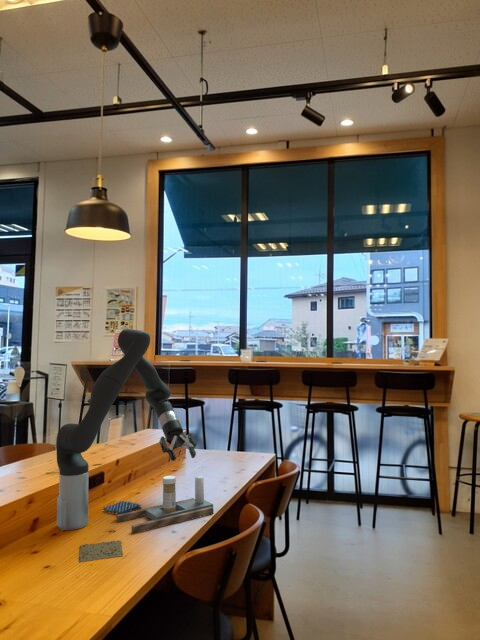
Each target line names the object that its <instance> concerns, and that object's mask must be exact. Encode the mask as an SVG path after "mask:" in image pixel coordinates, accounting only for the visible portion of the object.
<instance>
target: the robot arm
mask: <svg viewBox="0 0 480 640" xmlns="http://www.w3.org/2000/svg"><path fill="white" fill-rule="evenodd" d="M150 344H151V336H150V333H148V332H147V331H145V330H142V329H141V330H139V329H133V328H125V329H122V330H121V331H120V332H119V334H118V336H117V345H118V347H119V349H120V351H121V352H122V353H123V356H122V357H121V358H120V359H119V360H118V361H116V362H115V363H113V364H111V365H110V366H108V367H107V368H105V370H103V371H102V372H101V373H100V375H99V376H98V378H97V379H96V381H95V383H93V386H92V387H91V391H90V400H89V406H88V410H87V411H86V413H85V415H84V417H83V418H82V420H81V421H80V422H79V423H69V422H68V423H66V424H64V425H62V426H61V427H60V428H59V429H58V432H57V435H56V446H55V447H56V450H55V451H56V464H57V467H58V471H59V473H58V474H59V475H58V476H59V480H58V483H59V484H58V487H59V488H58V493H59V494H58V495H57V497H56V498H57V499H56V527H58V528H59V529H60V530H61V531H72V530H73V531H74V530H77V529H81V528H84V527H86V526H87V525H89V475H90V474H89V472H90V471H89V468H90V467H89V463H88V461H87V460H85V459H84V457H83V456H82V453H85V452H87V451H88V450H89V449H90V448H91V446H93V444H94V443H95V439H96V438H97V436H98V433H99V431H100V429H101V426H102V425H103V422H104V421H105V418H106V417H107V414H108V413H109V412H110V409H111V407H112V406H113V404H114V402H115V401H116V399H117V398H118V396H119V395H120V393H121V390H122V389H123V387H124V385H126V381H127V380H128V379H129V377H130V376H131V374H132V372H133V371H134V370H135V371H136V372H137V373H138V375H139V378H140V380H141V382H142V385H144V388H145V389H146V391H145V396H144V397H145V400H146V401H147V402H148V404H149V405H150V406H151V408H153V410H154V412H155V413H156V415H157V418H158V422H159V424H160V428H161V430H162V432H163V436H161V437H160V439H159V445H160V447H161V452H162V453H163V454H166V453H167V454H168V456H169V458H170V460H171V461H172V462H175V461H176V460H177V456H176V453H175V451H174V450H173V449H174V448H177V447H180V448H181V447H183V448H184V449H187V450H188V452H189V454H190V456H191V458H192V459H195V458H196V455H197V453H196V450H195V449H196V447H197V445H198V444H197V442H196V440H195V437H194V436H193V433H191V432H189V434H185V433H184V430H183V426H182V424H181V422H180V419H179V417H178V415H177V414H176V412H175V410H174V408H173V406H172V403H171V402H170V401H167V400H168V399H169V398H170V397H171V394H172V393H171V390H170V388H169V386H168V385H167V384H166V383H165V382H164V381H163V380H162V379H161V377H160V376H159V373H158V372H157V369H156V367H155V366H154V365H153V364H152V363H151V361H150V360H148V359H147V358H146V357H145V356H144V355H145V354H146V352H147V350H148V349H149V346H150ZM167 443H168V444H169V446H167Z"/></svg>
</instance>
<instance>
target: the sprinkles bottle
mask: <svg viewBox="0 0 480 640" xmlns="http://www.w3.org/2000/svg"><path fill="white" fill-rule="evenodd" d="M176 482H177V478H176V476H175V475H165V476H163V477H162V486H163V487H162V505H163V511H165V512H166V513H168V514H169V513H173V512H176V510H175V507H176V502H177V501H176V499H177V498H176V484H177V483H176Z"/></svg>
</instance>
